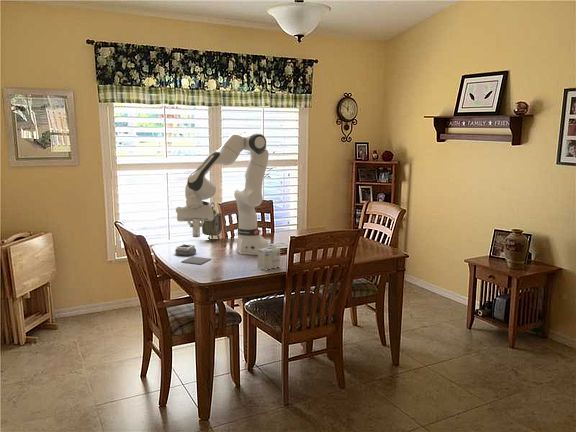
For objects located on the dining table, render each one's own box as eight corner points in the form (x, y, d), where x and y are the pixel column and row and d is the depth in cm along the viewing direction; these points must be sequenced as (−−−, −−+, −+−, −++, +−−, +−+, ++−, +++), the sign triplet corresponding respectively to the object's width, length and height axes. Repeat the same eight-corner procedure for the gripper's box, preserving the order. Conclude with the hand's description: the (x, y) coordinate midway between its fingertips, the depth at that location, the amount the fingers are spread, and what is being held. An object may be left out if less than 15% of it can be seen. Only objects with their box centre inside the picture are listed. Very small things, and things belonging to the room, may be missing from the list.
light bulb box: (272, 265, 281) (273, 246, 279) (280, 267, 276) (280, 248, 274) (257, 268, 274) (257, 248, 272) (264, 271, 269) (264, 251, 267)
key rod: (201, 236, 284) (201, 218, 282) (197, 237, 280) (197, 219, 278) (194, 235, 285) (194, 218, 283) (191, 237, 281) (191, 219, 280)
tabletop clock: (214, 242, 331) (214, 204, 327) (201, 241, 333) (201, 203, 329) (221, 237, 345) (221, 201, 341) (209, 236, 347) (209, 200, 343)
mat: (211, 259, 289) (211, 258, 288) (200, 264, 277) (200, 263, 277) (192, 257, 292) (192, 256, 292) (181, 262, 281) (181, 261, 281)
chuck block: (199, 252, 304) (199, 245, 304) (189, 257, 293) (189, 249, 292) (182, 250, 308) (182, 243, 307) (171, 254, 297) (171, 247, 296)
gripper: (175, 203, 283) (177, 223, 275) (212, 202, 289) (215, 222, 281) (175, 209, 288) (176, 230, 280) (211, 209, 294) (213, 229, 286)
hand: (196, 226), depth 281 cm, fingers closed on key rod, 4 cm apart
